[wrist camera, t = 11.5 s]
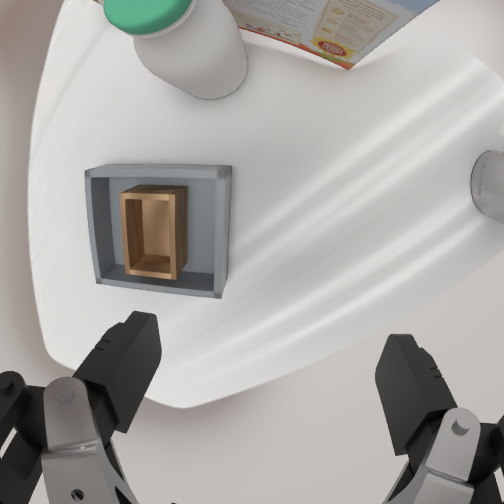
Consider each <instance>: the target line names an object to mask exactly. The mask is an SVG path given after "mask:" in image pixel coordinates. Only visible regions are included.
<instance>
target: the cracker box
mask: <svg viewBox="0 0 504 504" xmlns="http://www.w3.org/2000/svg"><path fill="white" fill-rule="evenodd" d="M438 1H440V0H223V3H224V5H225V6H226V7H227V8H228V9H229V11H230V12H231V13H232V15H233V17H234V19H235V21H236V23H237V26H238V28H241V29H244V30H248V31H251V32H254V33H258V34H261V35H264V36H267V37H270V38H273V39H276V40H279V41H282V42H284V43H287V44H290V45H293V46H295V47H298V48H300V49H303V50H305V51H308V52H310V53H313V54H315V55H317V56H320V57H322V58H324V59H326V60H329V61H331V62H333V63H335V64H337V65H339V66H342V67H343V68H345V69H348V70H349V69H350V68H352V67H353V66H354V65H355V64H356V63H358V62H359V61H360V60H361V59H362V58H364V57H365V56H366V55H367V54H369V53H370V52H371V51H373V50H374V49H375V48H376V47H377V46H379V45H380V44H381V43H383V42H384V41H385V40H386V39H388V38H389V37H390V36H392V35H393V34H394V33H395V32H397V31H398V30H399V29H401V28H402V27H403V26H405V25H406V24H407V23H409V22H410V21H411V20H412V19H414V18H415V17H416V16H418V15H419V14H421V13H422V12H423V11H425V10H426V9H427V8H429V7H430V6H432V5H434V4H435V3H437V2H438Z"/></svg>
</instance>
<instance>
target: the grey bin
mask: <svg viewBox="0 0 504 504" xmlns="http://www.w3.org/2000/svg"><path fill="white" fill-rule="evenodd" d="M231 176H232V166H221V165H195V164H115V165H104V166H100V167H96V168H92V169H88V170H85V191H86V206H87V218H88V228H89V237H90V245H91V252H92V259H93V266H94V272H95V278H96V283H97V284H104V285H110V286H117V287H124V288H132V289H139V290H147V291H155V292H163V293H171V294H180V295H189V296H198V297H208V298H218V299H221V298H222V294H223V291H224V287H225V284H226V280H227V265H228V239H229V216H230V195H231ZM139 184H141V185H177V186H188V261H187V263H186V265H185V266H184V268H183V270H182V271H181V273H180V275H179V276H178V278H177V280H174V279H165V278H156V277H148V276H139V275H131V274H126V271H125V262H124V252H123V242H122V229H121V214H120V193H121V192H123V191H125V190H127V189H130V188H132V187H134V186H137V185H139Z"/></svg>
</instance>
